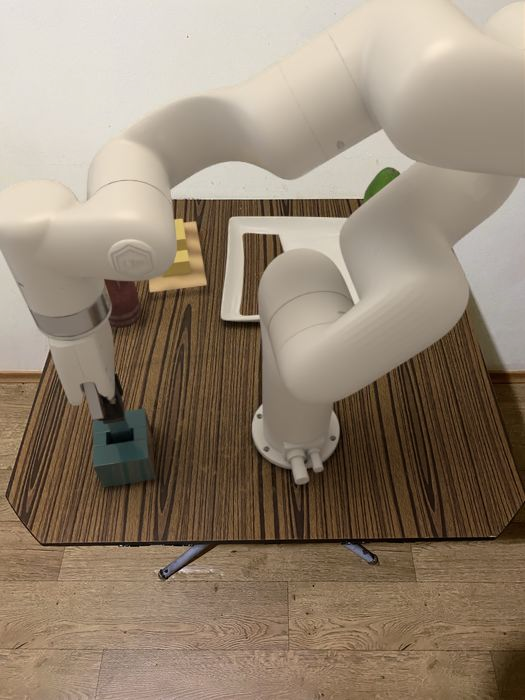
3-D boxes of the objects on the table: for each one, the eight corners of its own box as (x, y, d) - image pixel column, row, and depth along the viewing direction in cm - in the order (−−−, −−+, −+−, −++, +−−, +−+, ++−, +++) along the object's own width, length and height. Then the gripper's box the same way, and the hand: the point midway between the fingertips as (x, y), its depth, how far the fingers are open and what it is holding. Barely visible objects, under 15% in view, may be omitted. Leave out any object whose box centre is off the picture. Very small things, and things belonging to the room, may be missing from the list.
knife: (136, 452, 78) (112, 388, 66) (117, 456, 77) (89, 391, 66) (135, 437, 79) (112, 371, 68) (116, 440, 79) (89, 375, 67)
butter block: (187, 251, 106) (185, 238, 104) (160, 254, 106) (157, 242, 103) (184, 231, 110) (182, 218, 108) (158, 234, 109) (155, 221, 107)
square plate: (386, 336, 95) (390, 320, 92) (220, 334, 95) (219, 318, 92) (370, 231, 112) (373, 214, 109) (229, 229, 112) (228, 213, 109)
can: (119, 340, 95) (100, 277, 84) (100, 318, 98) (79, 255, 87) (150, 322, 97) (135, 259, 86) (130, 301, 100) (114, 238, 89)
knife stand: (155, 479, 79) (148, 457, 74) (103, 487, 78) (92, 466, 73) (151, 431, 84) (144, 408, 79) (102, 438, 83) (93, 415, 78)
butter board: (207, 290, 102) (207, 284, 101) (150, 298, 101) (149, 292, 99) (196, 227, 113) (195, 221, 112) (145, 233, 112) (144, 227, 111)
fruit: (382, 239, 110) (393, 186, 101) (352, 220, 114) (359, 167, 105) (408, 222, 114) (421, 169, 104) (378, 204, 117) (388, 151, 108)
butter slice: (190, 273, 102) (189, 260, 100) (162, 277, 102) (160, 264, 100) (189, 262, 104) (187, 249, 102) (161, 265, 104) (159, 253, 101)
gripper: (36, 253, 61) (81, 360, 75) (24, 372, 51) (78, 470, 65) (107, 244, 62) (138, 352, 76) (109, 359, 52) (145, 458, 66)
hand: (110, 405), depth 71 cm, fingers closed on knife, 2 cm apart
